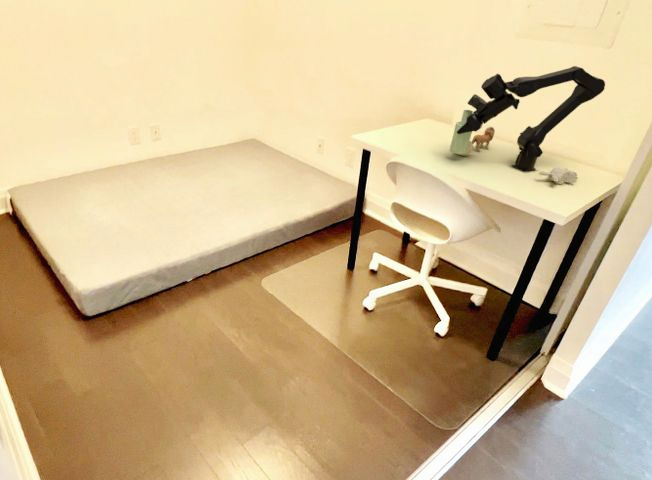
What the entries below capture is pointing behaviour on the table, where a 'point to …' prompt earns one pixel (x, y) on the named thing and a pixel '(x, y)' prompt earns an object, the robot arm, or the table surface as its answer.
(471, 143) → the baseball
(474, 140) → the lion figurine
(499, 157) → the table surface
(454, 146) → the bottle
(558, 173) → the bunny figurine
